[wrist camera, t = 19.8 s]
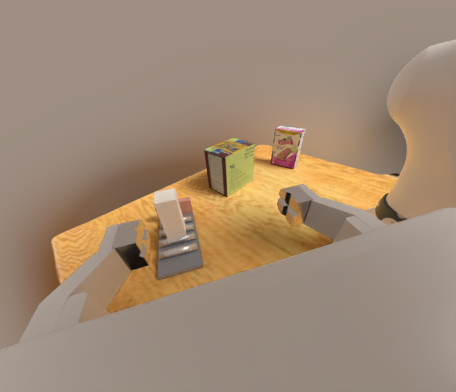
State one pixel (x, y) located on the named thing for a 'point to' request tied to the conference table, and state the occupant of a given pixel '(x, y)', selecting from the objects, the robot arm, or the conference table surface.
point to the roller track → (180, 259)
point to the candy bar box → (287, 146)
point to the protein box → (230, 165)
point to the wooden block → (170, 214)
